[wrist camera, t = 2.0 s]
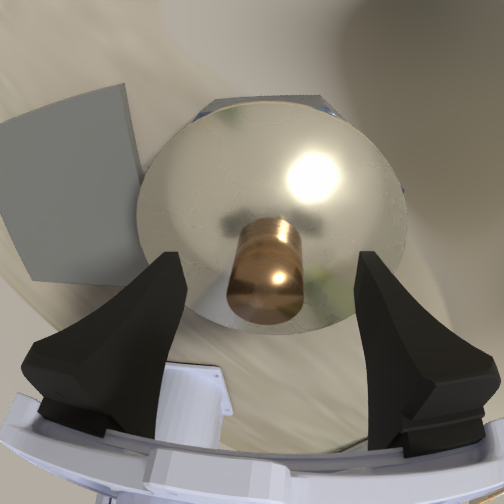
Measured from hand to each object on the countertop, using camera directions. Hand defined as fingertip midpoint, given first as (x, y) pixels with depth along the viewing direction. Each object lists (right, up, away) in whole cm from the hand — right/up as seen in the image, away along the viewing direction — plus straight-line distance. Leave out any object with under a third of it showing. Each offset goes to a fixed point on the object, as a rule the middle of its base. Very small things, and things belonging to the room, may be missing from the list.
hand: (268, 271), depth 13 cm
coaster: (-13, +4, +6) cm, 15 cm away
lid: (0, +1, +2) cm, 3 cm away
